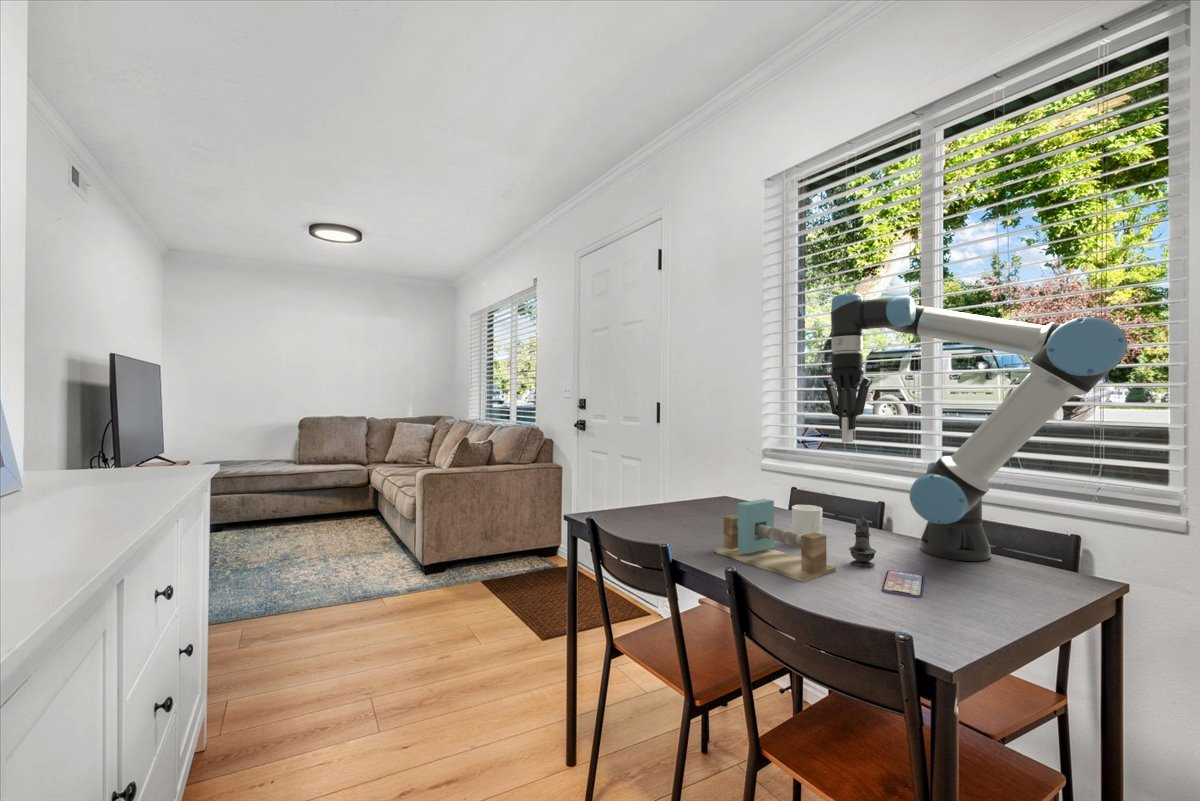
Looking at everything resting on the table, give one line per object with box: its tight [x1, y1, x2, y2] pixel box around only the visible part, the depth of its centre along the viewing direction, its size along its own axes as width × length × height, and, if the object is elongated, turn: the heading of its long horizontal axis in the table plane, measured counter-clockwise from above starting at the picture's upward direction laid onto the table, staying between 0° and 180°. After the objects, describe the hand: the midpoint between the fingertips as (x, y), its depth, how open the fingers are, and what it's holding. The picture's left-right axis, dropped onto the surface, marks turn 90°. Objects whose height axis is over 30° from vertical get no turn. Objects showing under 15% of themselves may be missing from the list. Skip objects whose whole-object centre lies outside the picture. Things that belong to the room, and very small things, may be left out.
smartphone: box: [881, 569, 925, 599], centre depth 117 cm, size 1×7×15 cm
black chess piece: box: [848, 514, 877, 569], centre depth 131 cm, size 6×6×12 cm
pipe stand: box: [713, 513, 837, 583], centre depth 134 cm, size 27×12×9 cm, turn 33°
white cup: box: [791, 504, 823, 535], centre depth 149 cm, size 8×8×10 cm
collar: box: [737, 498, 775, 554], centre depth 138 cm, size 3×10×12 cm, turn 123°
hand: (847, 441), depth 144 cm, fingers closed
